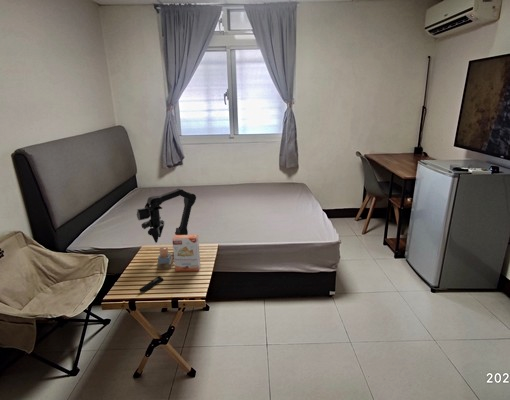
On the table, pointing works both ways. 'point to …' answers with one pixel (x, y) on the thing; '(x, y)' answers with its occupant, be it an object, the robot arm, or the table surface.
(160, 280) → the electric trimmer
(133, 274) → the table surface
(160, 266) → the tower base
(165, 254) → the terracotta cylinder
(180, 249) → the cracker box
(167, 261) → the tower middle
